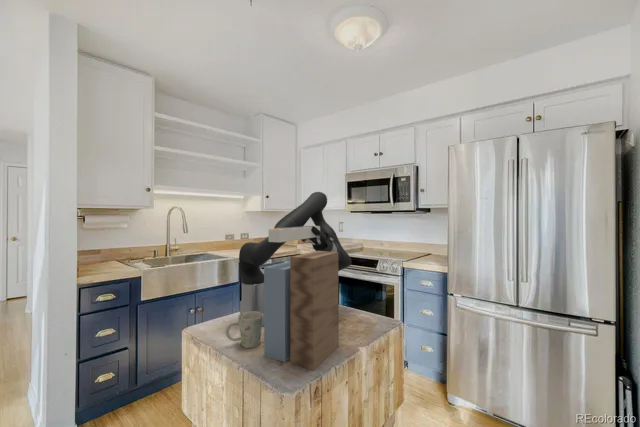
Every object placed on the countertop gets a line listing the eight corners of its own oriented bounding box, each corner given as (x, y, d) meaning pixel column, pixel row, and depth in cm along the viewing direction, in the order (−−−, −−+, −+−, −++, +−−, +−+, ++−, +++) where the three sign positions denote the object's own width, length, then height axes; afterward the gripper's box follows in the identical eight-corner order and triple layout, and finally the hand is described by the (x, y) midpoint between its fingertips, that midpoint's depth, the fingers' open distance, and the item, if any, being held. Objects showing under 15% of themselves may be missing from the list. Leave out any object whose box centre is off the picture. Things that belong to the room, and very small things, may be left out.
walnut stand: (290, 363, 88) (290, 256, 88) (317, 341, 103) (317, 250, 103) (313, 370, 84) (313, 258, 84) (338, 346, 99) (338, 252, 99)
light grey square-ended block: (268, 241, 92) (268, 228, 92) (310, 236, 115) (310, 225, 115) (279, 242, 90) (279, 228, 90) (320, 236, 113) (320, 225, 113)
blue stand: (264, 356, 92) (264, 267, 93) (293, 336, 107) (293, 260, 108) (285, 362, 89) (284, 269, 89) (312, 340, 104) (312, 261, 104)
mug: (264, 348, 98) (264, 318, 98) (224, 353, 95) (224, 322, 95) (261, 338, 106) (261, 310, 106) (225, 342, 103) (225, 313, 103)
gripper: (312, 238, 126) (293, 219, 113) (342, 239, 119) (326, 219, 106) (308, 254, 123) (287, 236, 110) (339, 256, 116) (321, 237, 103)
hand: (306, 228), depth 108 cm, fingers closed on light grey square-ended block, 4 cm apart
